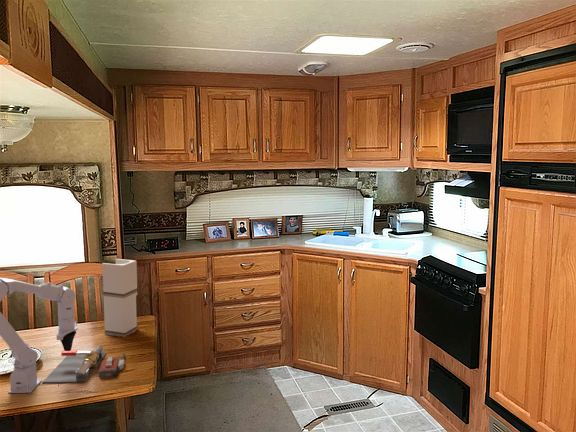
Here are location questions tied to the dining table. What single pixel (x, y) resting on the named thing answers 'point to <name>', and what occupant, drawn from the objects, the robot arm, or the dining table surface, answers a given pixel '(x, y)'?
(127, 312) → the tall square wastebasket
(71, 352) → the valve lever
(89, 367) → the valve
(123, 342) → the dining table surface
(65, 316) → the robot arm
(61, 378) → the mounting board
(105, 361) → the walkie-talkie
